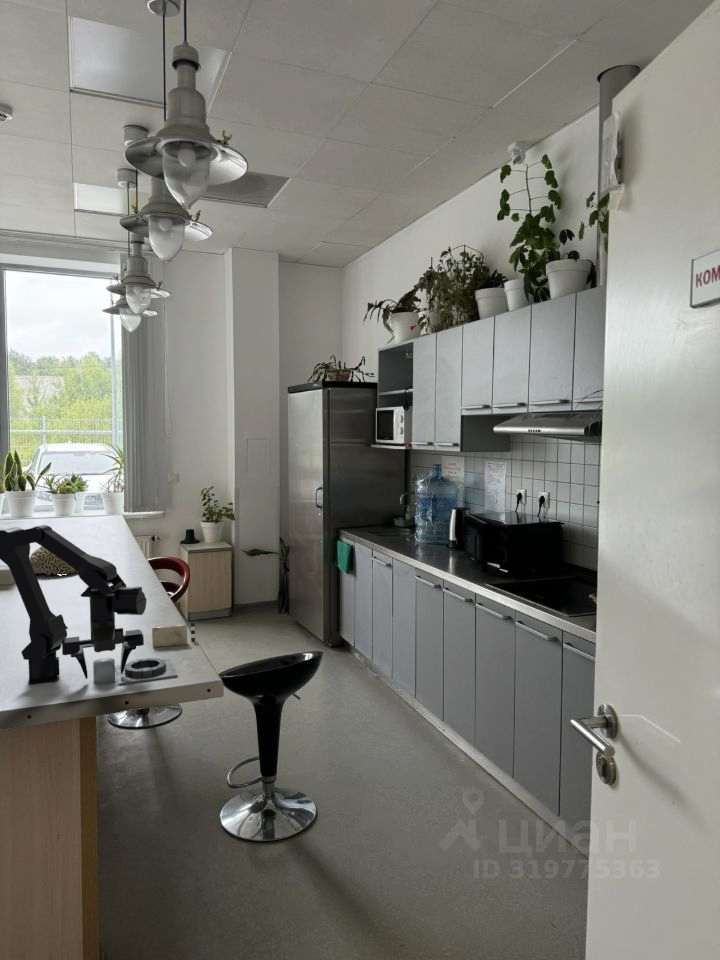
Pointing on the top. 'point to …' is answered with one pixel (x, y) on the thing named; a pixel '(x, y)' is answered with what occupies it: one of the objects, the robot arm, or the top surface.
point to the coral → (48, 563)
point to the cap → (104, 671)
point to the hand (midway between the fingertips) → (104, 675)
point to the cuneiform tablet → (171, 635)
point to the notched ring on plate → (145, 671)
